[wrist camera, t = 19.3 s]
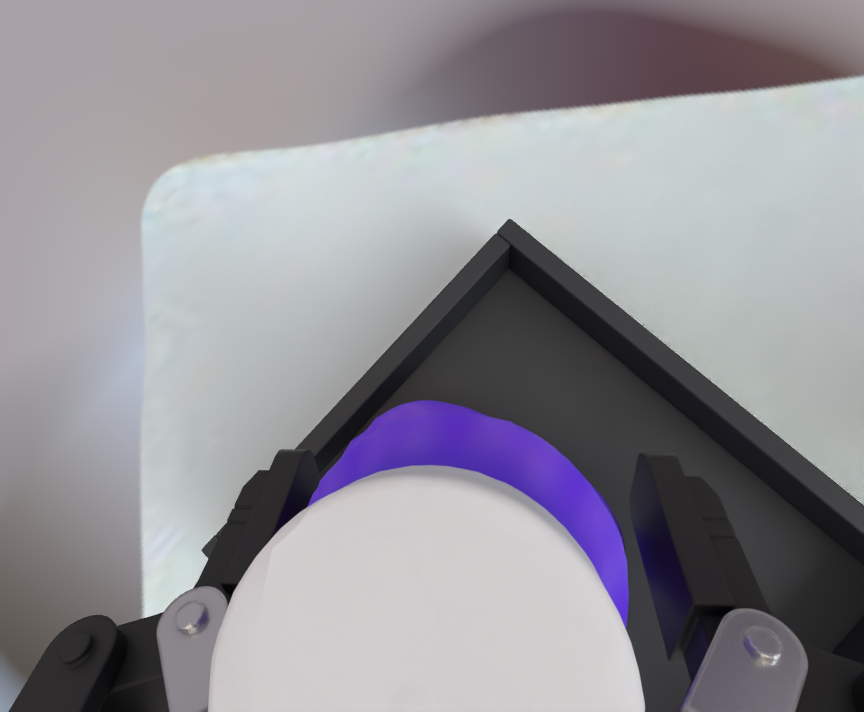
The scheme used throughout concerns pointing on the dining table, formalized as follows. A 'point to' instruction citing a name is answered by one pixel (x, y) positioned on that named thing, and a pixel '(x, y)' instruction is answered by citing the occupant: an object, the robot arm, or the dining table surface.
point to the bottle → (436, 582)
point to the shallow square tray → (620, 435)
